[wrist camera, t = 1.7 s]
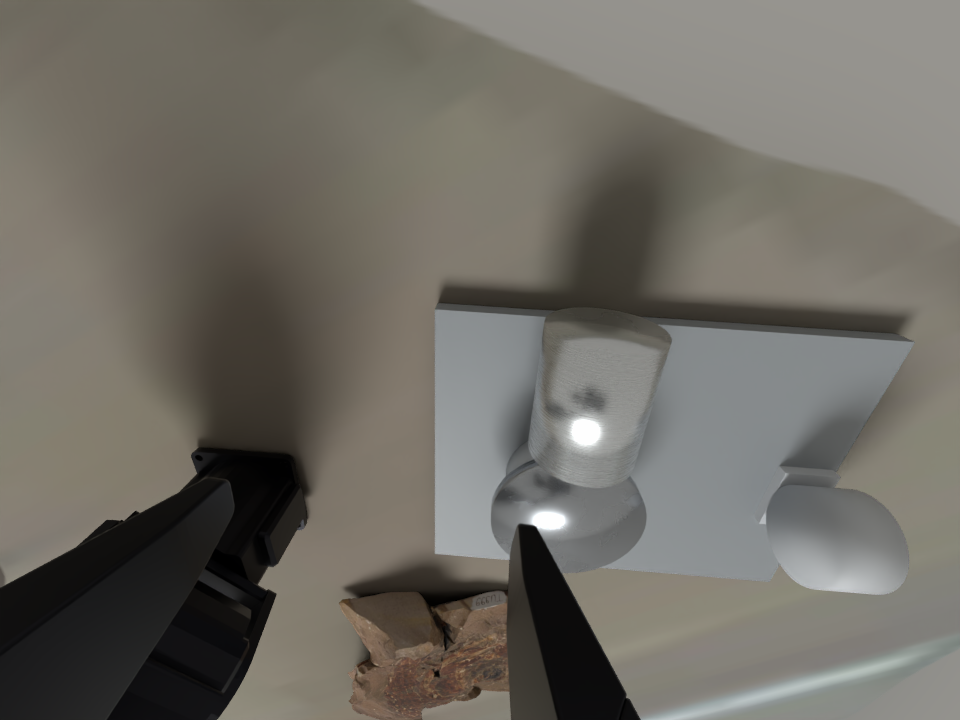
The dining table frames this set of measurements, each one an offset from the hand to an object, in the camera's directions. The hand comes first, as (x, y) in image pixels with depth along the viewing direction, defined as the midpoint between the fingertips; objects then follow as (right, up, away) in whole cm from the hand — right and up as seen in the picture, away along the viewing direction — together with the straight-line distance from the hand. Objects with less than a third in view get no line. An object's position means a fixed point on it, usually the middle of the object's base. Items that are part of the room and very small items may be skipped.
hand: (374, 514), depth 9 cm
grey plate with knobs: (+11, -3, +15) cm, 19 cm away
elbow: (+7, -1, +13) cm, 15 cm away
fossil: (0, -22, +26) cm, 34 cm away
